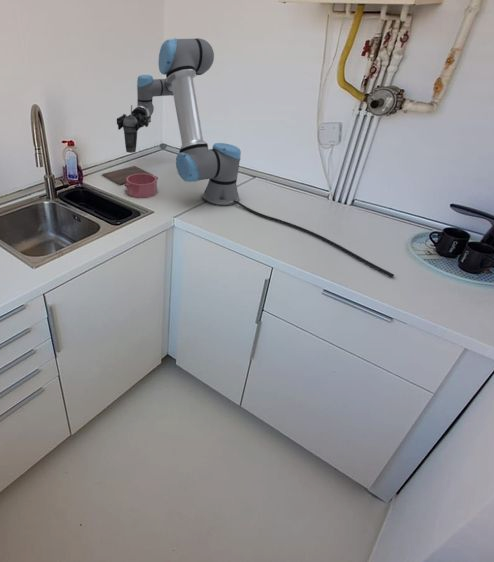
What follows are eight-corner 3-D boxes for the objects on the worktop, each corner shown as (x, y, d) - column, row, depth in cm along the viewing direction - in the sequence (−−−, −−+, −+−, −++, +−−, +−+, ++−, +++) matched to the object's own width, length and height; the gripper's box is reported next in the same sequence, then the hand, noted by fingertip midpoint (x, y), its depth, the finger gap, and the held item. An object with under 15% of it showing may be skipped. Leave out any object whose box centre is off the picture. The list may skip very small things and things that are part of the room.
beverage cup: (133, 147, 178) (133, 102, 166) (141, 151, 173) (141, 105, 161) (120, 150, 175) (118, 104, 163) (128, 154, 170) (127, 107, 158)
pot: (165, 191, 171) (165, 179, 168) (135, 201, 163) (134, 188, 159) (147, 182, 180) (147, 170, 176) (117, 191, 172) (117, 178, 168)
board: (153, 176, 187) (153, 174, 186) (119, 185, 177) (119, 183, 177) (134, 167, 197) (134, 165, 196) (102, 175, 187) (102, 173, 187)
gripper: (160, 124, 181) (149, 137, 163) (120, 121, 185) (106, 134, 167) (160, 107, 177) (150, 119, 159) (120, 105, 180) (105, 116, 162)
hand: (127, 126), depth 163 cm, fingers closed on beverage cup, 7 cm apart
